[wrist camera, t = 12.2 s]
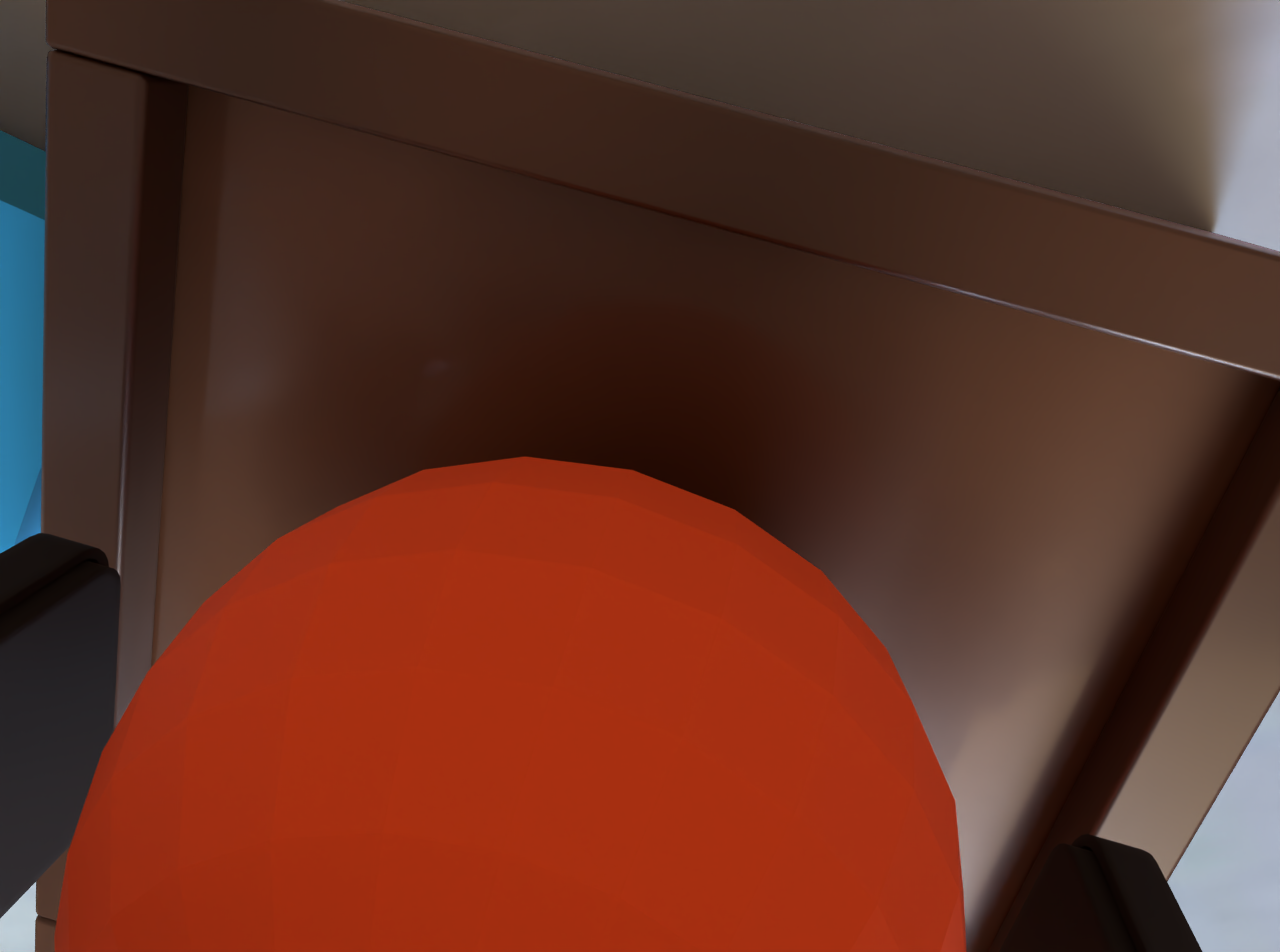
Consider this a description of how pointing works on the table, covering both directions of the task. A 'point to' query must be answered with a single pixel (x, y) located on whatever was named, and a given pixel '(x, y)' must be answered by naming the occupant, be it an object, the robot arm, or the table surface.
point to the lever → (21, 337)
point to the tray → (674, 376)
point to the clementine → (519, 742)
